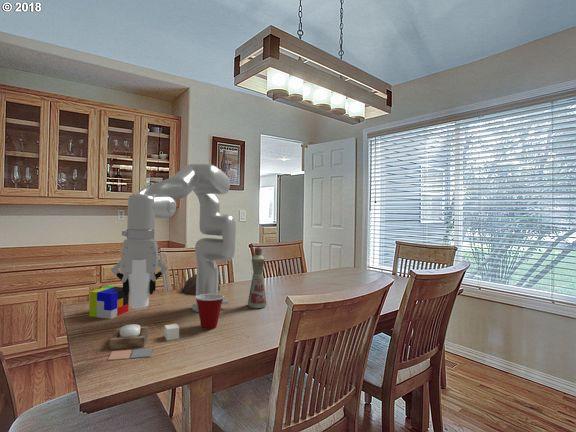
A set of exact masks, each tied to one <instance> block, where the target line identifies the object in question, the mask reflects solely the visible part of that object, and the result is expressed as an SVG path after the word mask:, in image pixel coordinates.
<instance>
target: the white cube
mask: <svg viewBox="0 0 576 432" xmlns="http://www.w3.org/2000/svg"><path fill="white" fill-rule="evenodd" d="M164 338H165V340H166V341H167V342H168V341H173V340H179V339H180V327H179V325H178V323H172V324H165V325H164Z"/></svg>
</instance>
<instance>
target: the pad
mask: <svg viewBox="0 0 576 432" xmlns="http://www.w3.org/2000/svg"><path fill="white" fill-rule="evenodd" d="M132 352H133V350H132V349H127V350H126V349H125V350H112V351H111V353H110V355H109V357H108V358H107V361H117V360H119V361H120V360H129V358H130V357H131V355H132Z"/></svg>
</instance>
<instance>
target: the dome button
mask: <svg viewBox="0 0 576 432" xmlns="http://www.w3.org/2000/svg"><path fill="white" fill-rule="evenodd" d="M140 327H141V325H139V324H136V323H135V324H134V323H133V324H131V323H130V324H125V325H123V326H121V327H119V328H120V337H134V336H140Z"/></svg>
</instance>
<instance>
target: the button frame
mask: <svg viewBox="0 0 576 432" xmlns="http://www.w3.org/2000/svg"><path fill="white" fill-rule="evenodd" d="M120 328H121V327H118V328H116V329H115V331H114V332H113V334H112V336H110V339H109V350H119V349H121V350H122V349H133V348H144V347H145V345H146V343H147V339H148V336H149V325H146V326H145V325H144V326H140V336H134V337H120Z"/></svg>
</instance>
